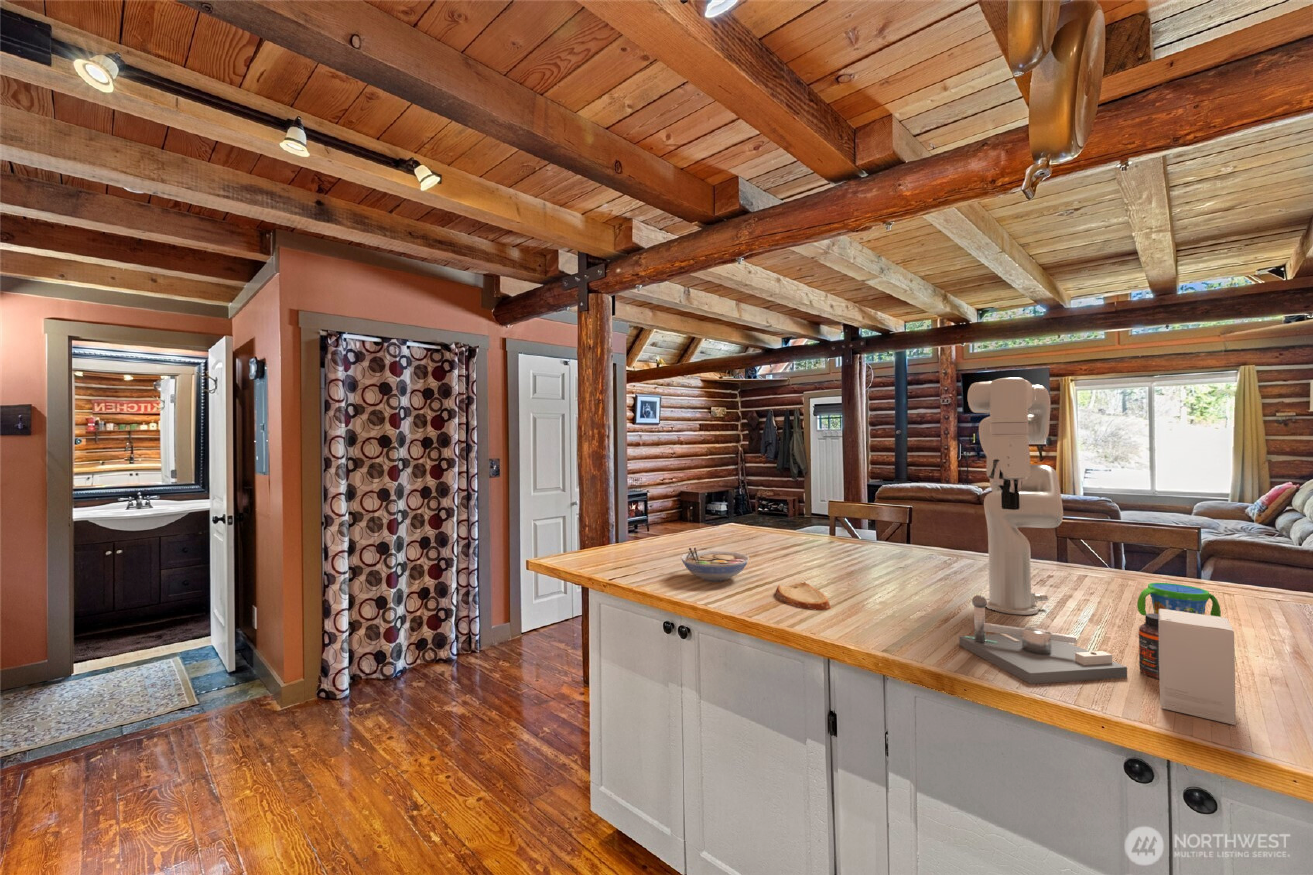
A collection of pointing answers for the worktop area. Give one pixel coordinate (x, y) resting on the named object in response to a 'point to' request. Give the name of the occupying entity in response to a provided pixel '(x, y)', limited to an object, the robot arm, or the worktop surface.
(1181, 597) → the snack cup
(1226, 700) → the supplement box
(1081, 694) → the worktop surface
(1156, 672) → the supplement bottle
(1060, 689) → the worktop surface
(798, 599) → the bread slice
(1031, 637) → the metal crank lever
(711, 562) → the ramen bowl
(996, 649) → the stand
